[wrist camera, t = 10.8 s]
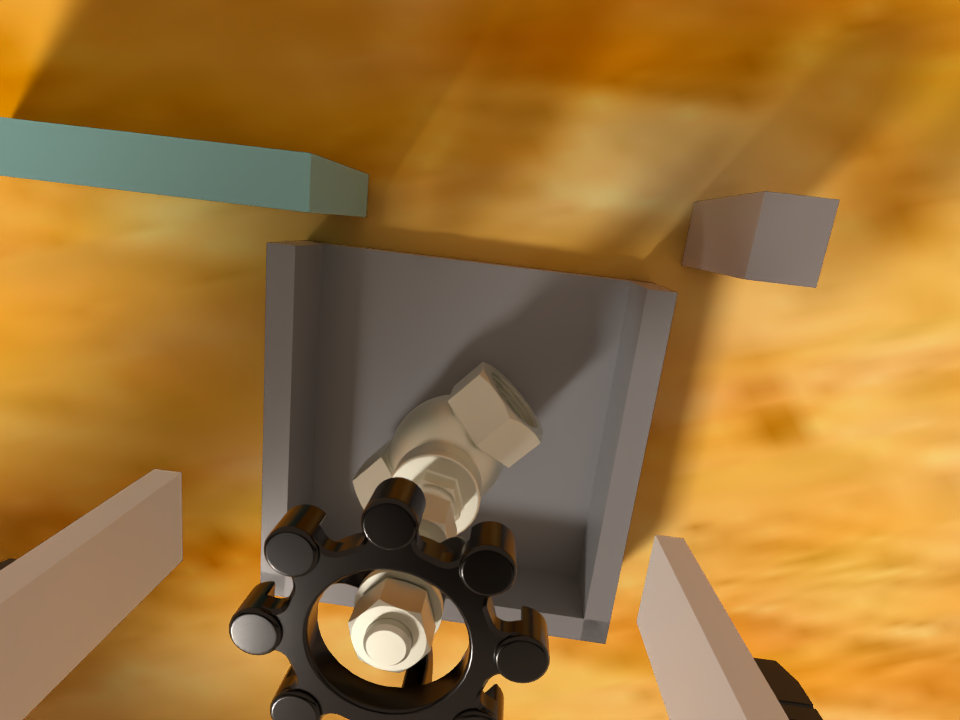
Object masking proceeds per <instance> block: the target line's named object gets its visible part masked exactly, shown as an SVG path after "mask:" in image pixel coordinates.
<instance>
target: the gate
mask: <svg viewBox="0 0 960 720" xmlns="http://www.w3.org/2000/svg"><path fill="white" fill-rule="evenodd" d="M0 176H9V177H17V178H25V179H34V180H42V181H50V182H59V183H67V184H75V185H84V186H92V187H100V188H109V189H117V190H125V191H134V192H142V193H150V194H159V195H167V196H175V197H184V198H192V199H200V200H209V201H217V202H225V203H234V204H242V205H250V206H259V207H267V208H275V209H284V210H292V211H300V212H309V213H321V214H334V215H346V216H359V217H366V212H367V196H368V180H369V174H366V173H364V172H361V171H358V170H355V169H353V168H350V167H347V166H345V165H342V164H339V163H337V162H334V161H331V160H328V159H326V158H323V157H320V156H318V155H315V154H312V153H306V152H297V151H288V150H280V149H271V148H263V147H254V146H245V145H237V144H228V143H219V142H211V141H202V140H194V139H185V138H176V137H168V136H159V135H150V134H142V133H133V132H124V131H116V130H107V129H99V128H90V127H81V126H73V125H64V124H55V123H47V122H38V121H30V120H21V119H12V118H4V117H0Z"/></svg>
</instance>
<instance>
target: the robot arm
mask: <svg viewBox="0 0 960 720" xmlns="http://www.w3.org/2000/svg"><path fill="white" fill-rule="evenodd" d="M182 560H183V546H182V472H175V471H167V470H160V469H154V470H152V471H151V472H149V473H147V474H146V475H144V476H143V477H141V478H140V479H138V480H137V481H135V482H134V483H132V484H131V485H129V486H128V487H126V488H125V489H123V490H122V491H120V492H119V493H117V494H116V495H114V496H113V497H111V498H110V499H108V500H107V501H105V502H103V503H102V504H100V505H99V506H97V507H96V508H94V509H93V510H91V511H90V512H88V513H87V514H85V515H84V516H82V517H81V518H79V519H78V520H76V521H75V522H73V523H72V524H70V525H69V526H67V527H66V528H64V529H63V530H61V531H59V532H58V533H56V534H55V535H53V536H52V537H50V538H49V539H47V540H46V541H44V542H43V543H41V544H40V545H38V546H37V547H35V548H34V549H32V550H31V551H29V552H28V553H26V554H25V555H23V556H22V557H20V558H18V559H8V560H6V561H3V562H1V563H0V720H23V719H24V718H25V717H26V716H27V715H28V714H29V713H30V712H31V711H32V710H33V709H34V708H35V707H36V706H37V705H38V704H39V703H40V702H41V701H42V700H43V699H44V698H45V697H46V696H47V695H48V694H49V693H50V692H51V691H52V690H53V689H54V688H55V687H56V686H57V685H58V684H59V683H60V682H61V681H62V680H63V679H64V678H65V677H66V676H67V675H68V674H69V673H70V672H71V671H72V670H73V669H74V668H75V667H76V666H77V665H78V664H79V663H80V662H81V661H82V660H83V659H84V658H85V657H86V656H87V655H88V654H89V653H90V652H91V651H92V650H93V649H94V648H95V647H96V646H97V645H98V644H99V643H100V642H101V641H102V640H103V639H104V638H105V637H106V636H107V635H108V634H109V633H110V632H111V631H112V630H113V629H114V628H115V627H116V626H117V625H118V624H119V623H120V622H121V621H122V620H123V619H124V618H125V617H126V616H127V615H128V614H129V613H130V612H131V611H132V610H133V609H134V608H135V607H136V606H137V605H138V604H139V603H140V602H141V601H142V600H143V599H144V598H145V597H146V596H147V595H148V594H149V593H150V592H151V591H152V590H153V589H154V588H155V587H156V586H157V585H158V584H159V583H160V582H161V581H162V580H163V579H164V578H165V577H166V576H167V575H168V574H169V573H170V572H171V571H172V570H173V569H174V568H175V567H176V566H177V565H178V564H179V563H180V562H181V561H182ZM637 624H638V627H639V630H640V633H641V636H642V639H643V642H644V645H645V648H646V651H647V654H648V657H649V660H650V663H651V666H652V669H653V672H654V675H655V678H656V681H657V683H658V686H659V689H660V692H661V695H662V698H663V701H664V704H665V707H666V710H667V713H668V716H669V719H670V720H823V719H822V718H821V716H820V714H819V713H818V711H817V710H816V709H814V708H813V704H812V702H811V701H810V699H809V698H808V696H807V695H806V693H805V692H804V690H803V688H802V687H801V685H800V684H799V682H798V681H797V680H796V679H795V678H794V677H792V676H791V675H790V674H789V673H788V672H787V671H786V670H785V669H784V668H783V667H782V666H781V665H780V664H778V663H777V662H776V661H773V660H765V659H758V658H753V657H752V655H751V653H750V652H749V650H748V648H747V646H746V645H745V643H744V641H743V640H742V638H741V636H740V634H739V633H738V631H737V629H736V628H735V626H734V624H733V622H732V621H731V619H730V617H729V616H728V614H727V612H726V610H725V609H724V607H723V605H722V604H721V602H720V600H719V598H718V597H717V595H716V593H715V592H714V590H713V588H712V586H711V585H710V583H709V581H708V580H707V578H706V576H705V574H704V573H703V571H702V569H701V568H700V566H699V564H698V562H697V561H696V559H695V557H694V556H693V554H692V552H691V550H690V549H689V547H688V545H687V544H686V542H685V540H684V538H677V537H669V536H662V535H655V538H654V543H653V547H652V552H651V557H650V561H649V566H648V571H647V575H646V580H645V585H644V589H643V594H642V599H641V604H640V608H639V613H638V618H637Z"/></svg>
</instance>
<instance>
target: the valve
mask: <svg viewBox="0 0 960 720" xmlns="http://www.w3.org/2000/svg"><path fill="white" fill-rule="evenodd" d="M542 435H543V430H542V426H541V424H540V422H539V420H538V418H537V416H536V415H535V413H534V411H533V410H532V408H531V407H530V405H529V404H528V403H527V401H526V400H525V399H524V397H523V396H522V395H521V394H520V392H519V391H518V390H517V389H516V388H515V386H514V385H513V384H512V383H511V382H510V381H509V380H508V379H507V378H506V377H505V376H504V375H503V374H502V373H501V372H500V371H498V370H497V369H496V368H494V367H493V366H491V365H489V364H487V363H485V362H482V363H481V364H479V365H478V366H477V367H476V368H475V369H474V370H472V371H471V372H470V373H469V374H468V375H466V376H465V377H464V378H463V379H462V380H461V381H459V382H458V383H457V384H456V385H455V386H454V387H453V389H452V392H451V394H450V395H443V396H438V397H435V398H432V399H430V400H427V401H425V402H423V403H422V404H420V405H418V406H417V407H416V408H414V409H413V410H412V411H411V412H410V413H408V414H407V416H406V417H405V418H404V419H403V420H402V422H401V423H400V425H399V426H398V428H397V430H396V432H395V434H394V436H393V438H392V439H391V440H390V441H388V442H387V443H386V444H385V445H384V446H382V447H381V448H380V449H379V450H378V451H377V452H375V453H374V454H373V455H372V456H371V457H369V458H368V459H367V460H366V461H365V462H364V464H363V465H362V466H361V468H360V469H359V470H358V472H357V473H356V475H355V477H354V479H353V485H354V488H355V491H356V494H357V497H358V499H359V501H360V504H361V506H362V507H363V509H364V511H363V513H362V516H361V528H362V531H363V532H362V533H357V534H354V535H351V536H348V537H345V538H343V539H341V540H339V541H336V542H335V541H333V540H331V539H330V538H328V537H327V535H326V534H325V532H324V531H323V529H322V527H321V526H320V525H321V523H322V522H323V520H324V519H325V517H326V515H327V513H326V512H324V511H323V510H322V509H320V508H319V507H316V506H314V505H309V504H302V505H297V506H295V507H293V508H291V509H290V510H289V511H288V512H287V513H286V514H285V515H284V516H283V518H282V519H281V520H280V521H279V522H278V524H277V525H276V526H275V527H274V529H273V530H272V531H271V532H270V533H269V535H268V536H267V538H266V540H265V543H264V555H265V558H266V561H267V562H268V564H269V565H270V566H271V568H272V569H274V570H275V571H276V572H278V573H280V574H281V575H284V576H287V577H291V578H292V581H293V589H292V591H291V594H290V596H289V597H286V598H275V597H274V594H275V581H266V582H262V583H260V584H258V585H257V586H255V587H254V588H253V590H252V591H251V592H250V594H249V595H248V596H247V598H246V599H245V600H244V602H243V603H242V604H241V606H240V607H239V608H238V610H237V611H236V613H235V614H234V615H233V617H232V618H231V621H230V624H229V634H230V637H231V639H232V641H233V642H234V644H235V645H236V646H237V647H238V648H240V649H241V650H242V651H244V652H246V653H249V654H252V655H265V654H268V653H270V652H272V651H274V650H277V651H280V652H282V653H283V654H285V655H286V656H287V658H288V660H289V662H290V664H291V666H290V668H289V669H288V671H287V673H286V675H285V677H284V679H283V681H282V683H281V684H280V686H279V688H278V690H277V692H276V694H275V696H274V698H273V700H272V702H271V705H270V714H271V718H272V720H321V719H322V717H323V716H324V715H326V714H329V713H334V714H338V715H341V716H343V717H345V718H347V719H350V720H503V711H504V696H503V693H502V691H501V688H500V687H499V686H498V685H497V684H495V685H493V686H492V687H491V688H490V689H489V690H488V691H487V692H485V693H484V692H483V688H484V687H485V685H486V683H487V682H488V680H489V679H490V678H491V677H492V676H494V675H497V674H501V675H502V676H504V677H505V678H506V679H508V680H510V681H513V682H516V683H529V682H533V681H535V680H537V679H539V678H540V677H542V676H543V675H544V674H545V672H546V671H547V669H548V666H549V662H550V656H549V643H548V629H547V623H546V621H545V619H544V617H543V616H542V615H541V614H540V613H539V612H538V611H536V610H535V609H533V608H531V607H528V606H522V607H521V620H516V621H504V620H501V619H500V618H498V617H497V616H496V612H495V607H494V603H493V601H492V598H491V596H496V595H499V594H502V593H504V592H506V591H507V590H508V589H509V588H510V587H511V586H512V585H513V583H514V581H515V579H516V576H517V541H516V538H515V536H514V534H513V532H512V531H511V530H510V529H509V528H508V527H506V526H505V525H503V524H501V523H499V522H495V521H484V522H480V523H477V524H476V525H474V526H472V528H471V534H470V539H469V540H468V541H466V540H465V539H464V538H463V537H460V536H456V535H458V534H459V533H461V532H462V531H464V530H465V529H466V528H467V527H468V526H470V525H471V523H472V522H473V521H474V519H475V518H476V515H477V513H478V511H479V507H480V500H481V497H482V496H483V495H484V494H486V493H487V492H488V491H489V489H490V488H491V487H492V486H493V485H494V483H495V482H496V480H497V479H498V477H499V475H500V473H501V471H502V468H503V465H505V466H507V467H508V468H509V467H511V466H512V465H513V464H514V463H516V462H517V461H518V460H519V459H521V458H522V457H523V456H525V455H526V454H527V453H528V452H530V451H531V450H532V449H534V448H535V447H536V446H537V445H539V444H540V443H541V440H542ZM333 584H347V585H350V586H353V587H356V588H359V589H358V591H357V593H356V596H355V600H354V610H353V613H352V615H351V617H350V619H349V622H348V625H349V630H350V635H351V640H352V643H353V646H354V649H355V652H356V654H357V656H358V658H359V659H360V660H361V661H363V662H365V663H367V664H369V665H371V666H373V667H376V668H378V669H382V670H386V671H390V672H398V673H400V672H402V671H404V670H406V672H405V676H404V680H403V684H402V688H399V687H386V686H382V685H377V684H374V683H371V682H368V681H366V680H364V679H362V678H360V677H358V676H356V675H354V674H353V673H351V672H350V671H349V670H348V669H346V668H345V667H344V666H342V665H341V664H340V663H339V662H338V661H337V660H336V659H335V657H334V656H333V655H332V654H331V653H330V651H329V650H328V648H327V647H326V645H325V643H324V641H323V639H322V637H321V634H320V631H319V627H318V621H317V615H318V603H319V601H320V599H321V597H322V595H323V593H324V592H325V591H326V589H327V588H328V587H329V586H331V585H333ZM446 596H447V597H448V598H449V599H450V600H451V601H452V603H453V604H454V605H455V606H456V607H457V609H458V611H459V612H460V614H461V616H462V617H463V619H464V622H465V624H466V627H467V630H468V635H469V646H468V649H467V650H466V652H465V654H464V656H463V658H462V659H461V661H460V662H459V663H458V665H457V666H456V667H455V668H454V669H453V670H451V671H450V672H449V673H448V674H446V675H445V676H443V677H442V678H440V679H438V680H436V681H433V682H432V673H433V652H432V642H433V637H434V634H435V633H436V631H437V630H438V628H439V626H440V623H441V619H442V614H443V609H444V604H445V599H446Z"/></svg>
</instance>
